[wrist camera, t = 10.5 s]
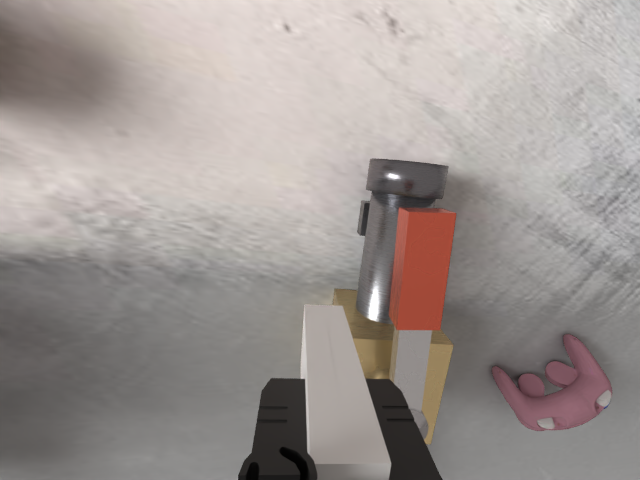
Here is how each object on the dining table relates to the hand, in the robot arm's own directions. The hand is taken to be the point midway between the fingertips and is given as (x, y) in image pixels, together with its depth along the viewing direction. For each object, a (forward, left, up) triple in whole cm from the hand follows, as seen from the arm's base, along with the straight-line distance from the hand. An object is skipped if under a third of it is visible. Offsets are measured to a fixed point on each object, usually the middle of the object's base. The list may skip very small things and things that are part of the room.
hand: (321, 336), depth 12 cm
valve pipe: (+7, -10, -18) cm, 21 cm away
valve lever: (+6, -3, -7) cm, 10 cm away
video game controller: (+26, -13, -18) cm, 34 cm away
